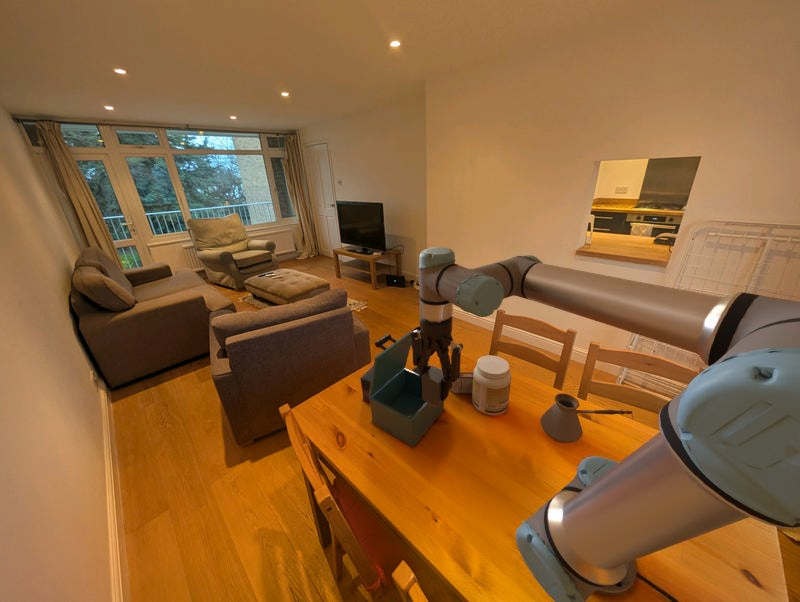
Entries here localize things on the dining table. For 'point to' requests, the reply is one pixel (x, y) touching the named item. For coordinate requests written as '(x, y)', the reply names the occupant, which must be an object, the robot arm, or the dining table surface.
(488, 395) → the supplement tub
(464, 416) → the dining table surface
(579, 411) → the coffee pot
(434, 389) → the block
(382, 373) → the lid
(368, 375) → the small box
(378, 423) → the teal open box
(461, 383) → the tin
